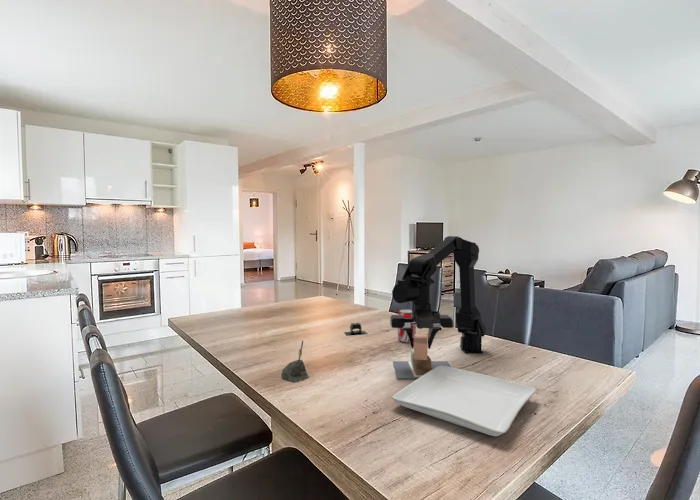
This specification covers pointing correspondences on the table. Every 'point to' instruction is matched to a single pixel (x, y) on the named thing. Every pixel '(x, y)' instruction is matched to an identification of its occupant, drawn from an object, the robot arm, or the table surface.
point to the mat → (412, 369)
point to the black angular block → (355, 326)
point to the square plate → (466, 399)
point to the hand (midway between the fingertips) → (420, 348)
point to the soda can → (402, 333)
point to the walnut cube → (422, 366)
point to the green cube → (412, 357)
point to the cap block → (420, 347)
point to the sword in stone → (295, 370)
